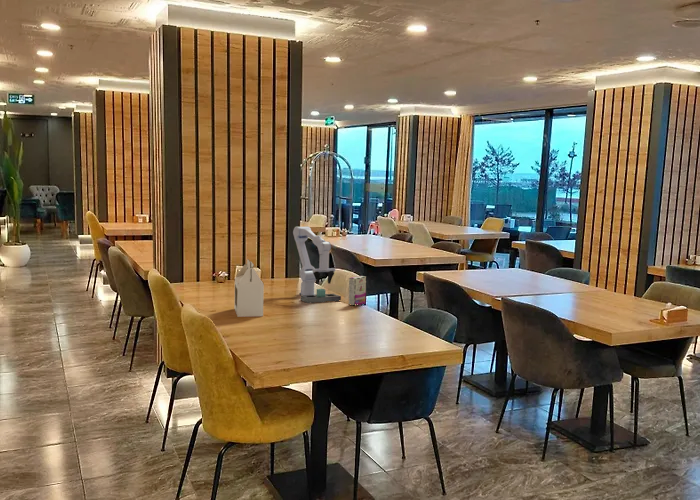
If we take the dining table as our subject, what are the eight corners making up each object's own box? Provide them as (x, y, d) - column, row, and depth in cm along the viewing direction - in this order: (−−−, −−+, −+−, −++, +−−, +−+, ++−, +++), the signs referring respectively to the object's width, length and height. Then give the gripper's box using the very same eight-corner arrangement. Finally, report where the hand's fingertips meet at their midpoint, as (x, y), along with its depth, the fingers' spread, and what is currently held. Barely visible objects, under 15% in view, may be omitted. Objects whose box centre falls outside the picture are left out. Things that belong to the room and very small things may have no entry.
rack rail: (300, 300, 378) (300, 295, 378) (333, 298, 389) (333, 293, 389) (307, 303, 370) (307, 298, 369) (340, 301, 380) (340, 296, 380)
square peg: (316, 300, 380) (316, 288, 379) (322, 300, 382) (322, 288, 381) (319, 301, 377) (319, 290, 376) (325, 301, 378) (325, 289, 378)
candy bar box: (359, 302, 377) (360, 275, 375) (365, 304, 374) (366, 276, 372) (347, 305, 368) (348, 277, 366) (354, 306, 365) (355, 278, 363)
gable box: (263, 316, 329) (264, 263, 326) (237, 317, 326) (238, 263, 323) (258, 308, 350) (259, 258, 348) (234, 308, 347) (235, 258, 344)
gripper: (316, 262, 376) (315, 285, 378) (337, 262, 383) (337, 284, 385) (311, 261, 383) (310, 283, 384) (332, 260, 389) (331, 282, 391)
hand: (323, 283), depth 385 cm, fingers open, 7 cm apart
